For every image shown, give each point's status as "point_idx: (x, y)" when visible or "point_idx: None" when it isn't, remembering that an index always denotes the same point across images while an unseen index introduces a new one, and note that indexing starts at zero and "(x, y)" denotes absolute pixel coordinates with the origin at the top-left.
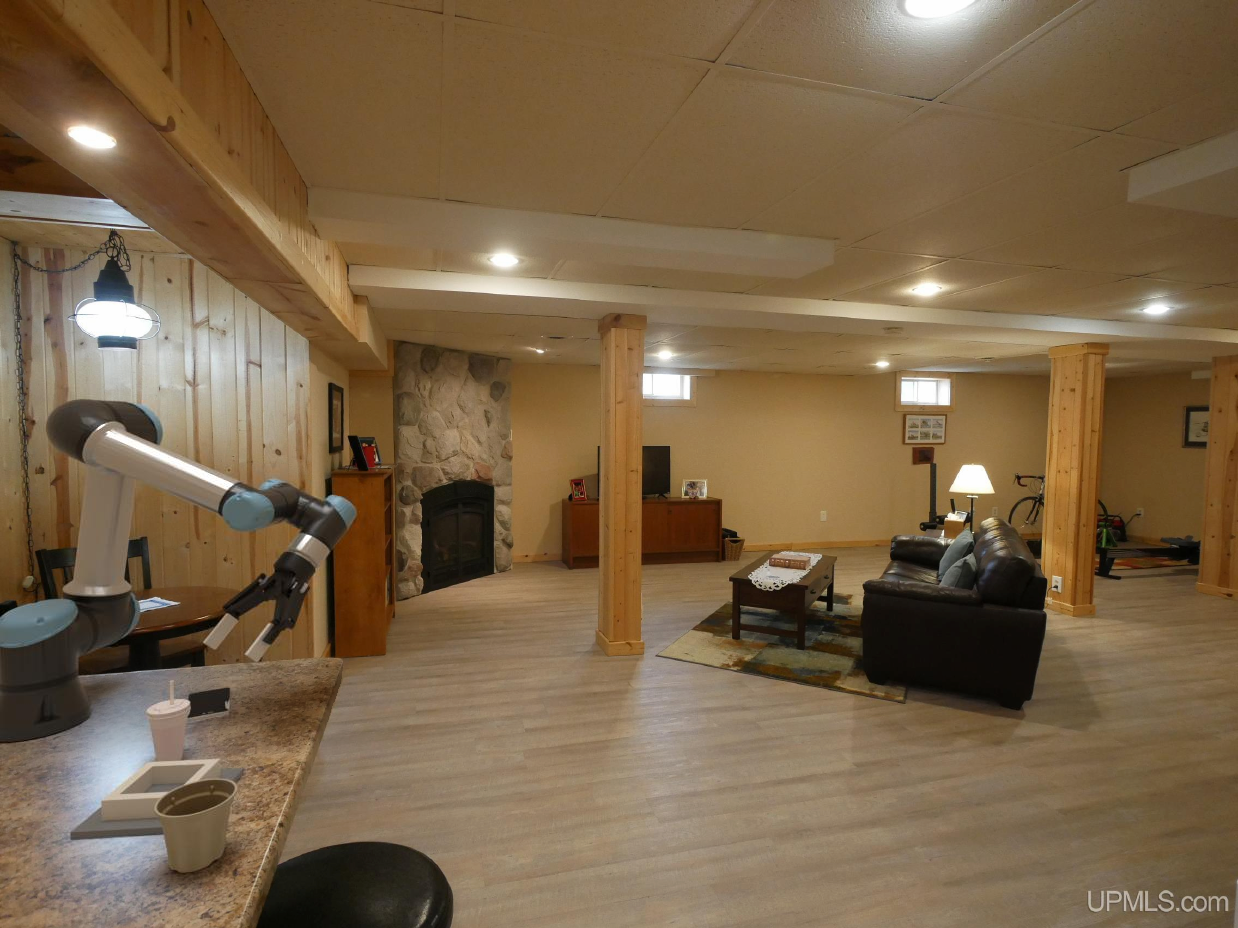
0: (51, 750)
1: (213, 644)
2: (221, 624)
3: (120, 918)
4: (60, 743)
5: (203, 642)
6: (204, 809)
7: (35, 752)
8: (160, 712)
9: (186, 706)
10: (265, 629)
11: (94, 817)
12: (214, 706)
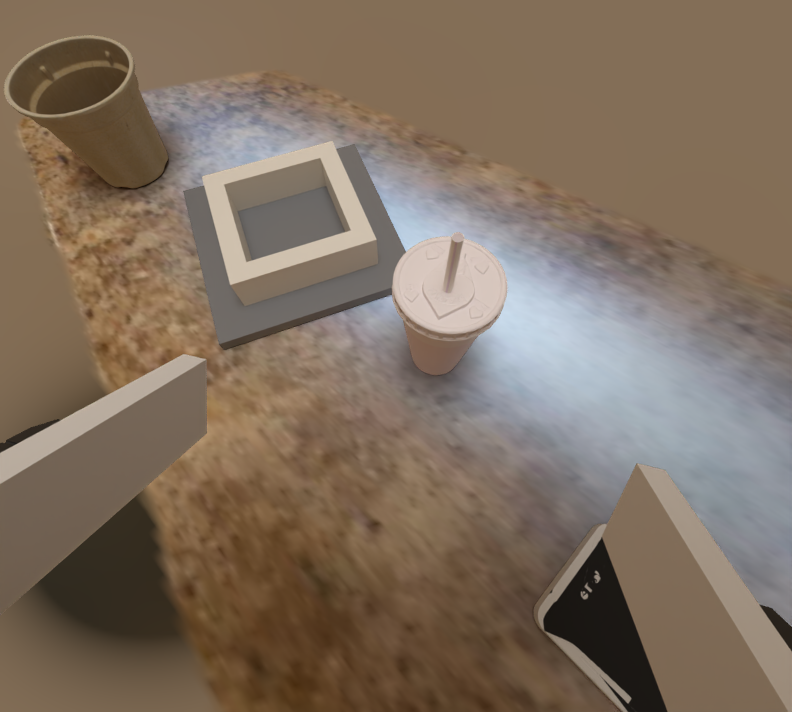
0: (733, 317)
1: (619, 521)
2: (713, 609)
3: (154, 89)
4: (759, 344)
5: (656, 468)
6: (118, 145)
7: (752, 303)
8: (432, 249)
9: (395, 295)
10: (20, 452)
11: (357, 172)
12: (623, 643)
